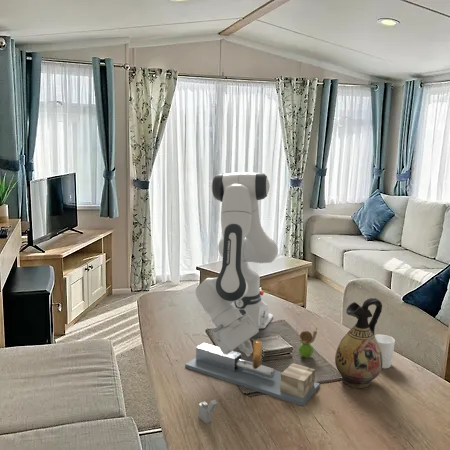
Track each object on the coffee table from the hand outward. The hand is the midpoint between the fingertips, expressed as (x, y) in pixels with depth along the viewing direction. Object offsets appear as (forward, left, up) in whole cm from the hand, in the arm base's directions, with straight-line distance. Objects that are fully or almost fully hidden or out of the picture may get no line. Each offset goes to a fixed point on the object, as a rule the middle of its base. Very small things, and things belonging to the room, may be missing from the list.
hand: (251, 354), depth 168 cm
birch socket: (0, +17, -7) cm, 19 cm away
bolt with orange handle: (0, -4, -6) cm, 7 cm away
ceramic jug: (-18, +32, -9) cm, 38 cm away
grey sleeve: (0, -13, -7) cm, 15 cm away
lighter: (+30, +2, -9) cm, 31 cm away
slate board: (0, 0, -8) cm, 8 cm away
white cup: (-35, +35, -9) cm, 50 cm away
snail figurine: (-25, +10, -9) cm, 28 cm away
